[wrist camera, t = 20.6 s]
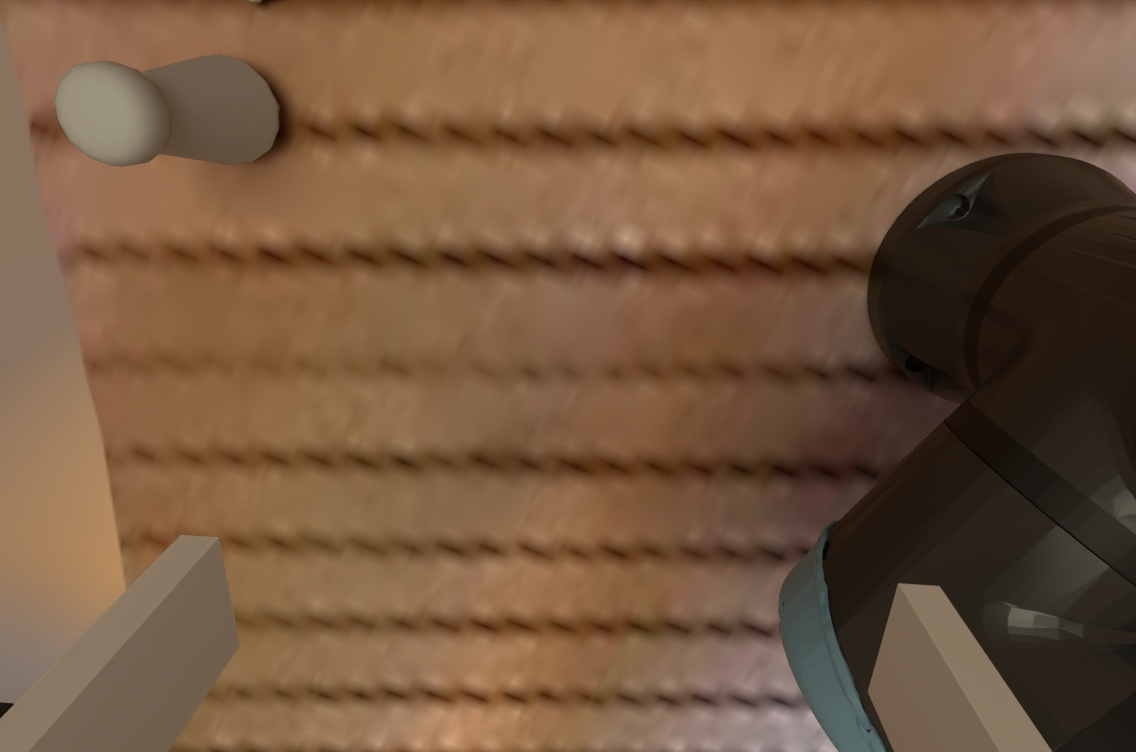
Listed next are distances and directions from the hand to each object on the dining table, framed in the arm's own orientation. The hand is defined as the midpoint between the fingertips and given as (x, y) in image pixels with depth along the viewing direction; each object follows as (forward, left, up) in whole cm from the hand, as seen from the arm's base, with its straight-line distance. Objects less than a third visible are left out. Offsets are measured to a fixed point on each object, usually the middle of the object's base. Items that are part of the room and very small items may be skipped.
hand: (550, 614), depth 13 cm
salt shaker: (+21, -8, -32) cm, 39 cm away
